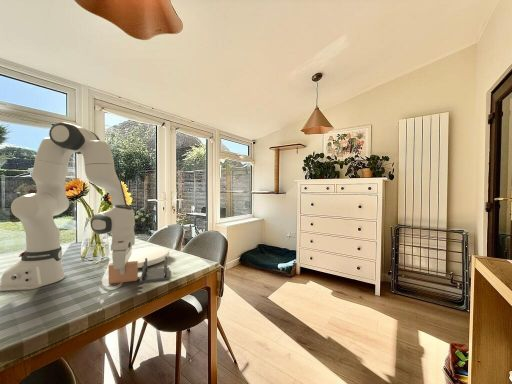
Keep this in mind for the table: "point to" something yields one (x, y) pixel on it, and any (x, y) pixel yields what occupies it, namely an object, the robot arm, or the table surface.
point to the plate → (149, 255)
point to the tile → (129, 274)
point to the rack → (154, 273)
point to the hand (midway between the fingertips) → (123, 271)
